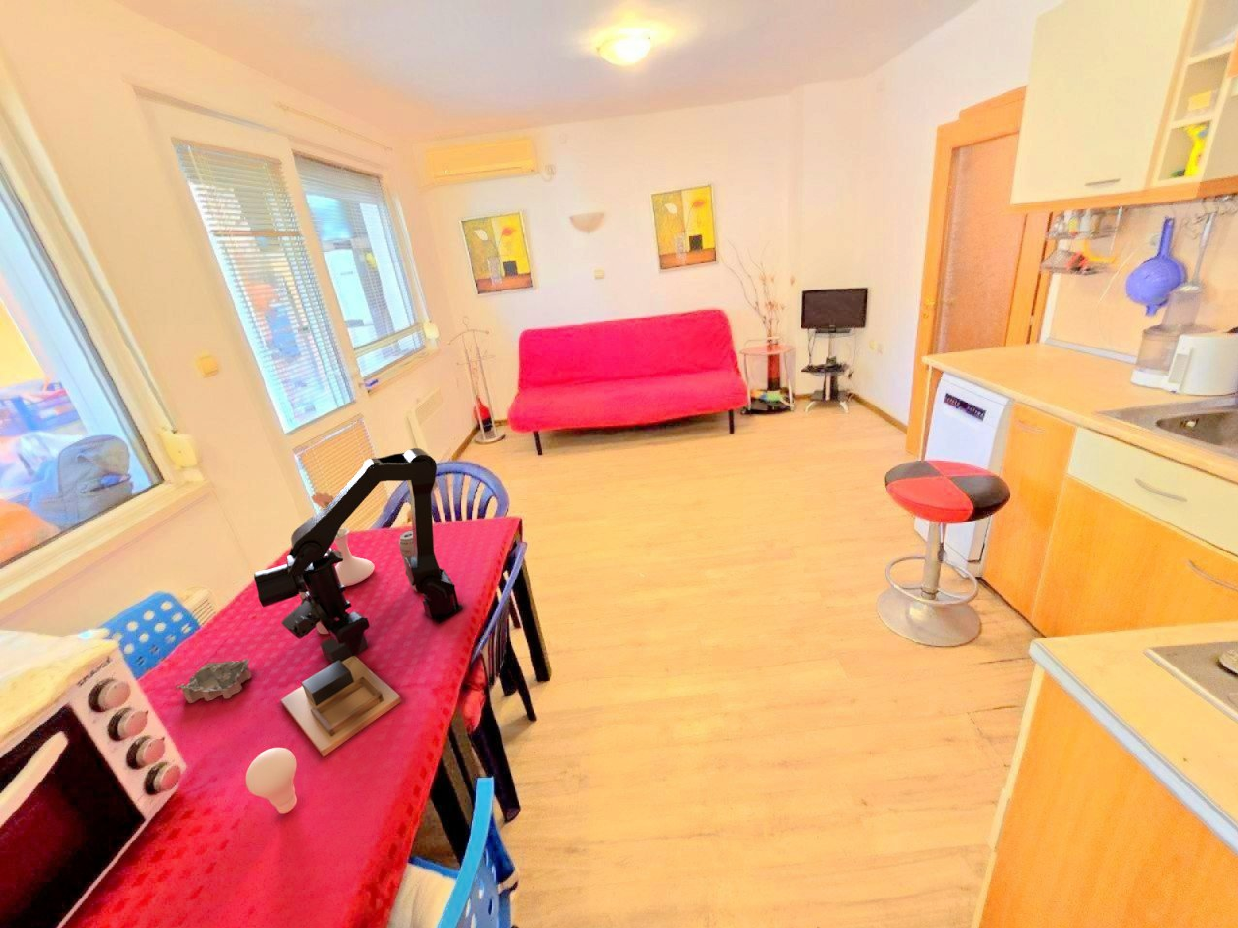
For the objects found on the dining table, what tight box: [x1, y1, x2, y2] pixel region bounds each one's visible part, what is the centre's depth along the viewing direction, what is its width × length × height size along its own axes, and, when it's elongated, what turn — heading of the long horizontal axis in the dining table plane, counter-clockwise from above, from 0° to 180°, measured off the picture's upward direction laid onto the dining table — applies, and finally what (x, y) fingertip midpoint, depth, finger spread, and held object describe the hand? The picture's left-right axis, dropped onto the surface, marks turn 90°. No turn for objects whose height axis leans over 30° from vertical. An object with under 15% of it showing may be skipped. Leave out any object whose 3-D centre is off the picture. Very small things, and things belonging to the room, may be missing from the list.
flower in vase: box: [310, 491, 376, 587], centre depth 131 cm, size 13×11×25 cm
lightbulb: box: [245, 747, 298, 814], centre depth 74 cm, size 6×6×11 cm
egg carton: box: [174, 658, 252, 704], centre depth 101 cm, size 11×8×4 cm
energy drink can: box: [398, 529, 418, 592], centre depth 126 cm, size 6×6×15 cm
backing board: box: [279, 656, 402, 757], centre depth 94 cm, size 14×19×4 cm
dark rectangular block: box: [320, 633, 369, 664], centre depth 107 cm, size 7×5×4 cm
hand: (345, 646), depth 108 cm, fingers open, 9 cm apart
